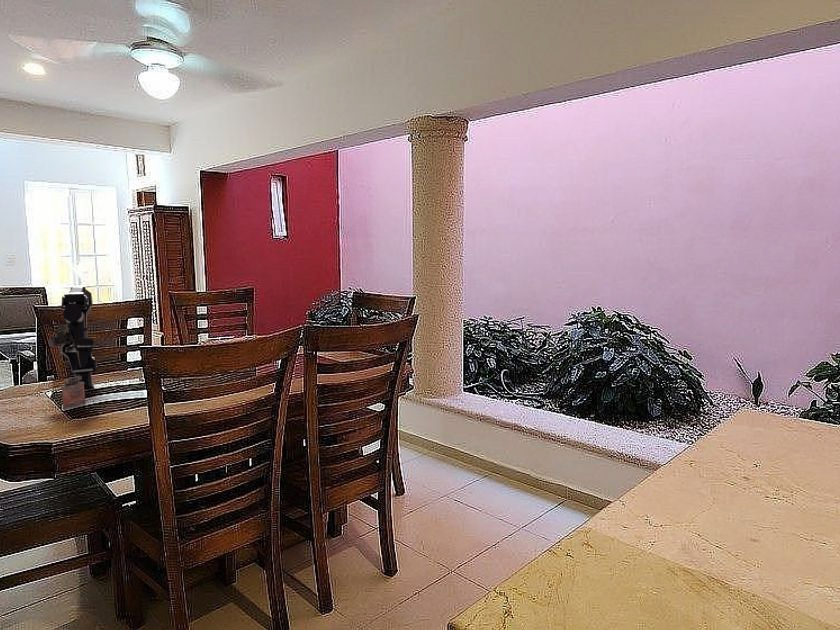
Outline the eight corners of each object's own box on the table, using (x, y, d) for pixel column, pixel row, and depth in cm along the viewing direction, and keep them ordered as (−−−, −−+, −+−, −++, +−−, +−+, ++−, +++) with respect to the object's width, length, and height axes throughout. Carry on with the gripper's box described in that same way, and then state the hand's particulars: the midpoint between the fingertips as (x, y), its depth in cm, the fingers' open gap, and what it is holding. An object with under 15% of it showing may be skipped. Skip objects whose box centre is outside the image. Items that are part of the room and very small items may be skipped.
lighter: (67, 408, 195) (65, 379, 194) (60, 407, 196) (58, 379, 195) (88, 402, 203) (86, 375, 202) (81, 402, 204) (78, 374, 203)
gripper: (42, 331, 209) (44, 373, 207) (58, 321, 197) (60, 367, 194) (77, 330, 217) (79, 371, 215) (94, 322, 205) (96, 365, 203)
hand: (78, 369), depth 207 cm, fingers open, 9 cm apart
